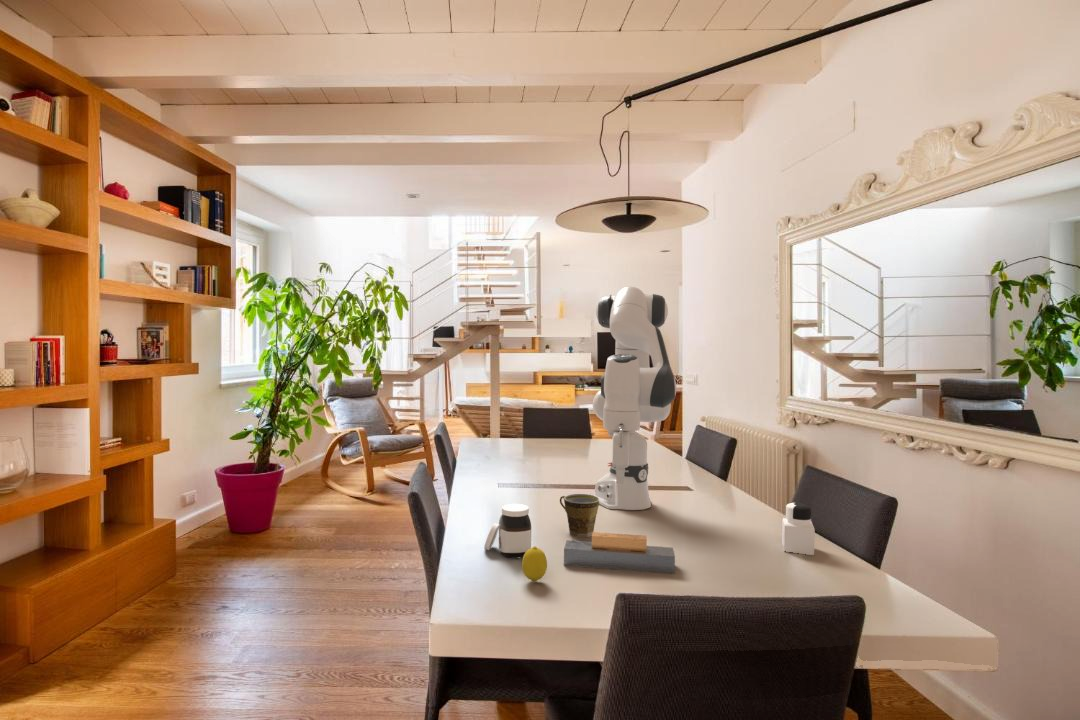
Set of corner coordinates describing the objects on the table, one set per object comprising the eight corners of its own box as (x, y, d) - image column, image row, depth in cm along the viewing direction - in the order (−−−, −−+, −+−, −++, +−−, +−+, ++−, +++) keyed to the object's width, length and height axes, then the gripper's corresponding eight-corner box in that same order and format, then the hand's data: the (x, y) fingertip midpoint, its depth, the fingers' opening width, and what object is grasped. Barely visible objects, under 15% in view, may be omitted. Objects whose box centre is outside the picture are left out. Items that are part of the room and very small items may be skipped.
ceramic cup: (605, 533, 159) (606, 498, 159) (583, 542, 152) (584, 505, 152) (570, 523, 168) (571, 490, 168) (548, 530, 161) (548, 496, 161)
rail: (563, 565, 136) (564, 548, 136) (566, 556, 142) (566, 540, 142) (674, 573, 132) (674, 556, 132) (672, 563, 138) (672, 547, 138)
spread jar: (534, 558, 140) (535, 512, 139) (489, 563, 136) (490, 515, 136) (522, 542, 151) (522, 499, 151) (480, 546, 148) (481, 502, 148)
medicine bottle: (810, 546, 151) (811, 502, 151) (814, 556, 145) (815, 509, 144) (781, 543, 154) (783, 499, 154) (784, 552, 147) (785, 506, 147)
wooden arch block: (591, 564, 136) (591, 535, 136) (592, 560, 139) (592, 532, 139) (646, 568, 134) (646, 539, 134) (645, 564, 137) (646, 535, 137)
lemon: (521, 577, 128) (521, 542, 128) (545, 577, 129) (546, 542, 128) (522, 587, 123) (523, 551, 122) (547, 587, 123) (548, 550, 123)
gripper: (635, 428, 125) (634, 490, 126) (634, 417, 146) (633, 470, 146) (606, 427, 126) (605, 488, 127) (609, 416, 147) (608, 469, 147)
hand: (620, 478), depth 136 cm, fingers open, 8 cm apart
